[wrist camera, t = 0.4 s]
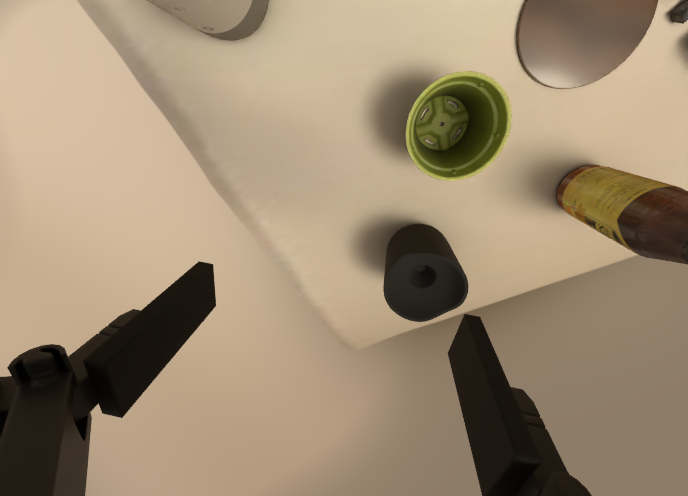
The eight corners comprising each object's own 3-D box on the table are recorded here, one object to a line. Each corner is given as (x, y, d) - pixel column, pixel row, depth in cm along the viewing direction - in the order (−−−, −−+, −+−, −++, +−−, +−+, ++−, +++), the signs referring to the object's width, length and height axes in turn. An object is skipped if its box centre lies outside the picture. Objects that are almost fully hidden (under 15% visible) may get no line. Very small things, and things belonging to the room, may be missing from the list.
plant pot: (501, 102, 33) (536, 102, 25) (452, 177, 37) (469, 196, 30) (428, 62, 32) (441, 50, 25) (387, 143, 37) (387, 154, 29)
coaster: (546, -69, 27) (549, -72, 26) (685, -56, 26) (690, -59, 26) (499, 81, 32) (501, 81, 32) (613, 95, 32) (616, 95, 31)
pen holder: (388, 217, 41) (389, 249, 32) (457, 224, 40) (478, 259, 31) (380, 274, 45) (379, 316, 36) (443, 282, 44) (457, 327, 35)
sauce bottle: (545, 208, 38) (684, 302, 20) (569, 158, 35) (756, 217, 17) (597, 217, 37) (785, 321, 20) (626, 168, 34) (876, 238, 17)
